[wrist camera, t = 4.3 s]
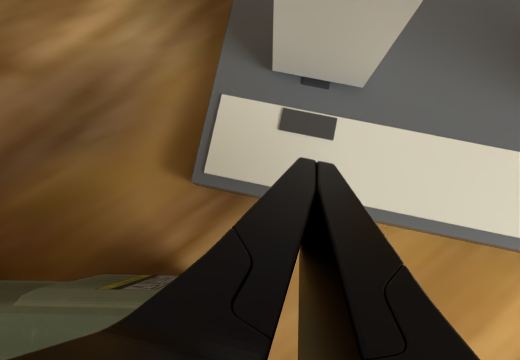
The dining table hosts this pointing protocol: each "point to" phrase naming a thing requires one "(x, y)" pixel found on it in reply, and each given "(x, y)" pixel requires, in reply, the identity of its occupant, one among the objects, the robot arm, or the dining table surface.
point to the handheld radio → (68, 308)
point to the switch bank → (383, 121)
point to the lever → (336, 36)
